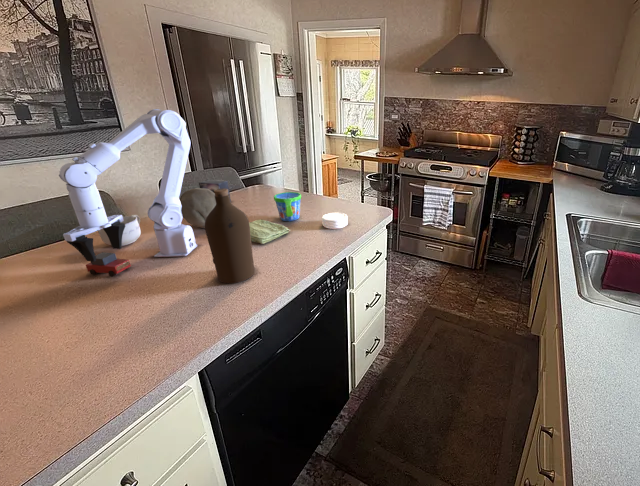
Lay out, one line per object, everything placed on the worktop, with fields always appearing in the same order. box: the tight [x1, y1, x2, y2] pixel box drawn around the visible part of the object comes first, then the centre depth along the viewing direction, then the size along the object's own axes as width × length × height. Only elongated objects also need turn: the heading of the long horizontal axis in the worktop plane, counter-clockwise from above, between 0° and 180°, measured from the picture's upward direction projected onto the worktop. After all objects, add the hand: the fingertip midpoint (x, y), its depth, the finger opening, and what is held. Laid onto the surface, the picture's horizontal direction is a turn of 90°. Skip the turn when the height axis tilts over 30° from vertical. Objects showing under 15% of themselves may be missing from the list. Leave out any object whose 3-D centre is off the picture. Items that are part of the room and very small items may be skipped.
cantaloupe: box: [179, 187, 216, 229], centre depth 123 cm, size 14×14×15 cm
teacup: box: [97, 214, 142, 247], centre depth 111 cm, size 14×11×8 cm
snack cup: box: [273, 191, 302, 222], centre depth 133 cm, size 16×10×10 cm
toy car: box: [85, 251, 132, 277], centre depth 92 cm, size 9×5×5 cm, turn 84°
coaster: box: [321, 212, 349, 230], centre depth 129 cm, size 10×10×4 cm
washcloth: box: [249, 219, 290, 245], centre depth 118 cm, size 13×18×3 cm
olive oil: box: [204, 188, 255, 284], centre depth 88 cm, size 11×11×25 cm
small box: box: [198, 178, 232, 203], centre depth 151 cm, size 11×6×10 cm, turn 81°
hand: (105, 254), depth 91 cm, fingers open, 7 cm apart
